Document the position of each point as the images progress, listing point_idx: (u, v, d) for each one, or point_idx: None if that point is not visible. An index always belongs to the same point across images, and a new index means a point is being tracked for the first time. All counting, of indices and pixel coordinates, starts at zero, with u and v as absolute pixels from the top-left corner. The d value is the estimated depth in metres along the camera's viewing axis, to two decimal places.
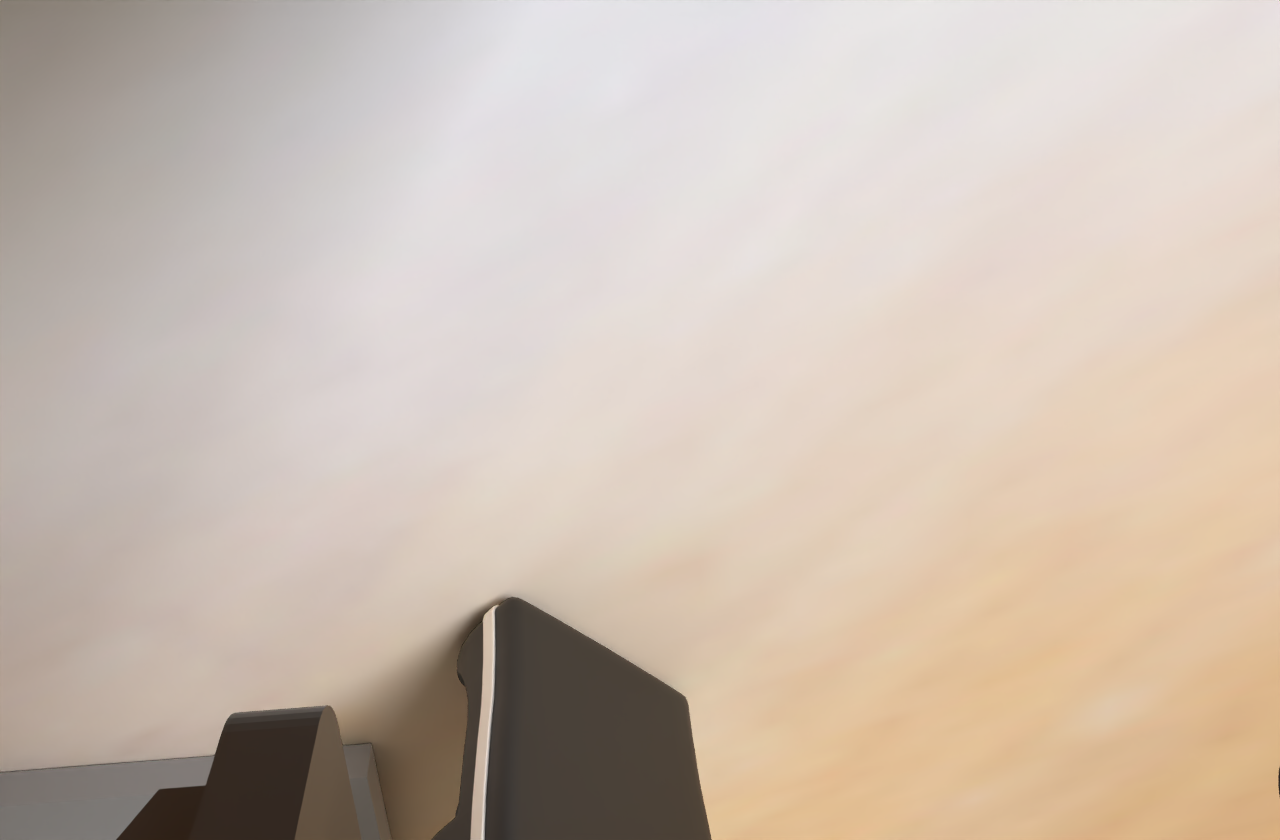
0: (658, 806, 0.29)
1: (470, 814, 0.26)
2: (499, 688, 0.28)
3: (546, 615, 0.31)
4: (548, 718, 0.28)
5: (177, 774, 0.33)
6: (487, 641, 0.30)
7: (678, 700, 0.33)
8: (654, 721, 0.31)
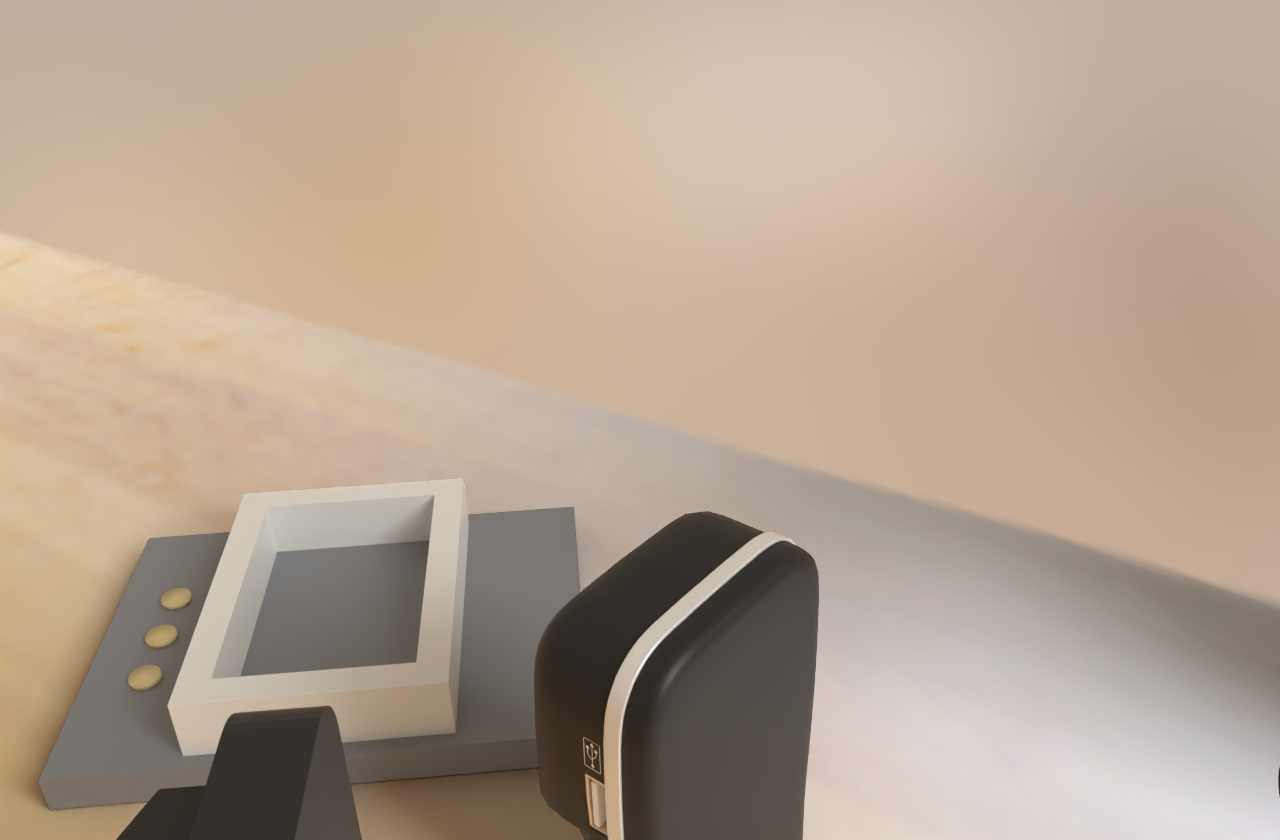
0: None
1: None
2: None
3: None
4: (789, 787, 0.30)
5: None
6: None
7: None
8: None
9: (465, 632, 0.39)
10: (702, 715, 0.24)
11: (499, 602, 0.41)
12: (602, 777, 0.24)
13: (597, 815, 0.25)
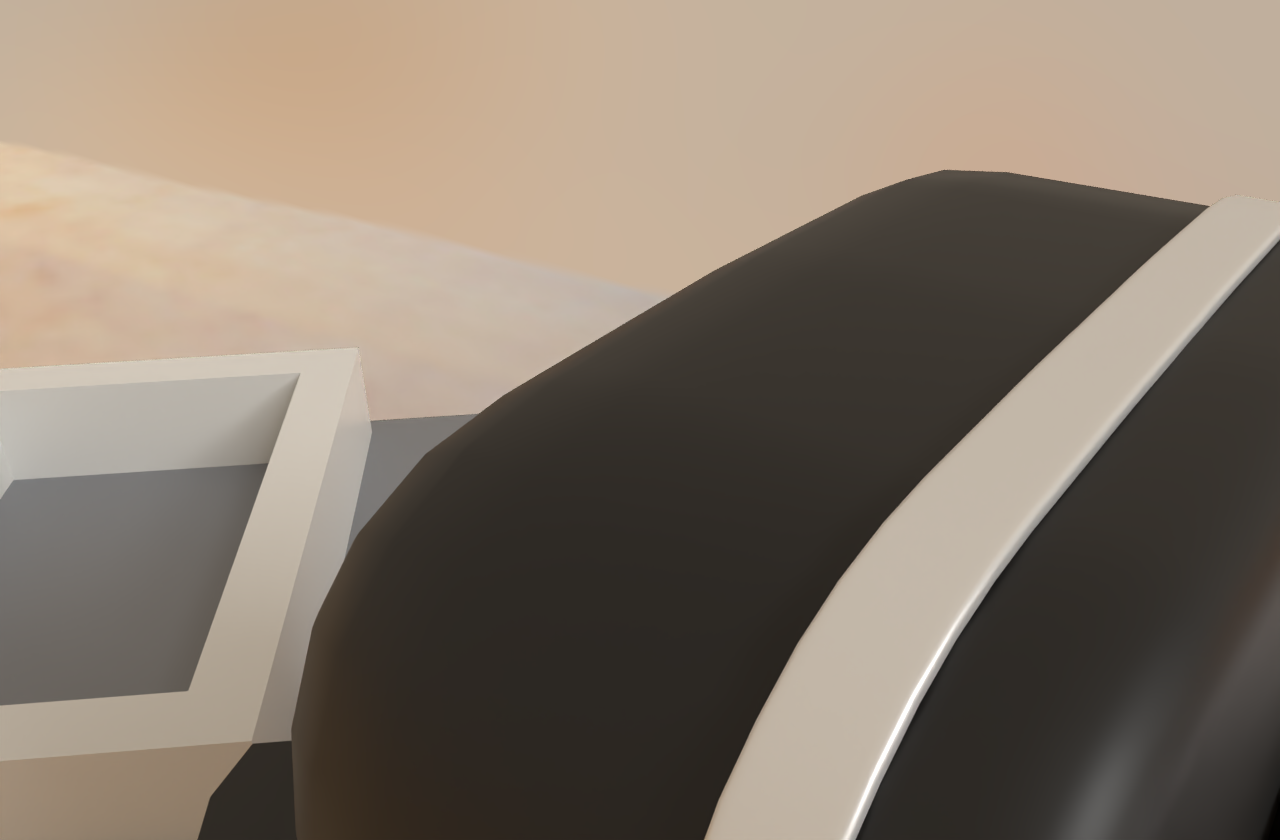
0: None
1: None
2: None
3: None
4: None
5: None
6: None
7: None
8: None
9: None
10: None
11: None
12: None
13: None
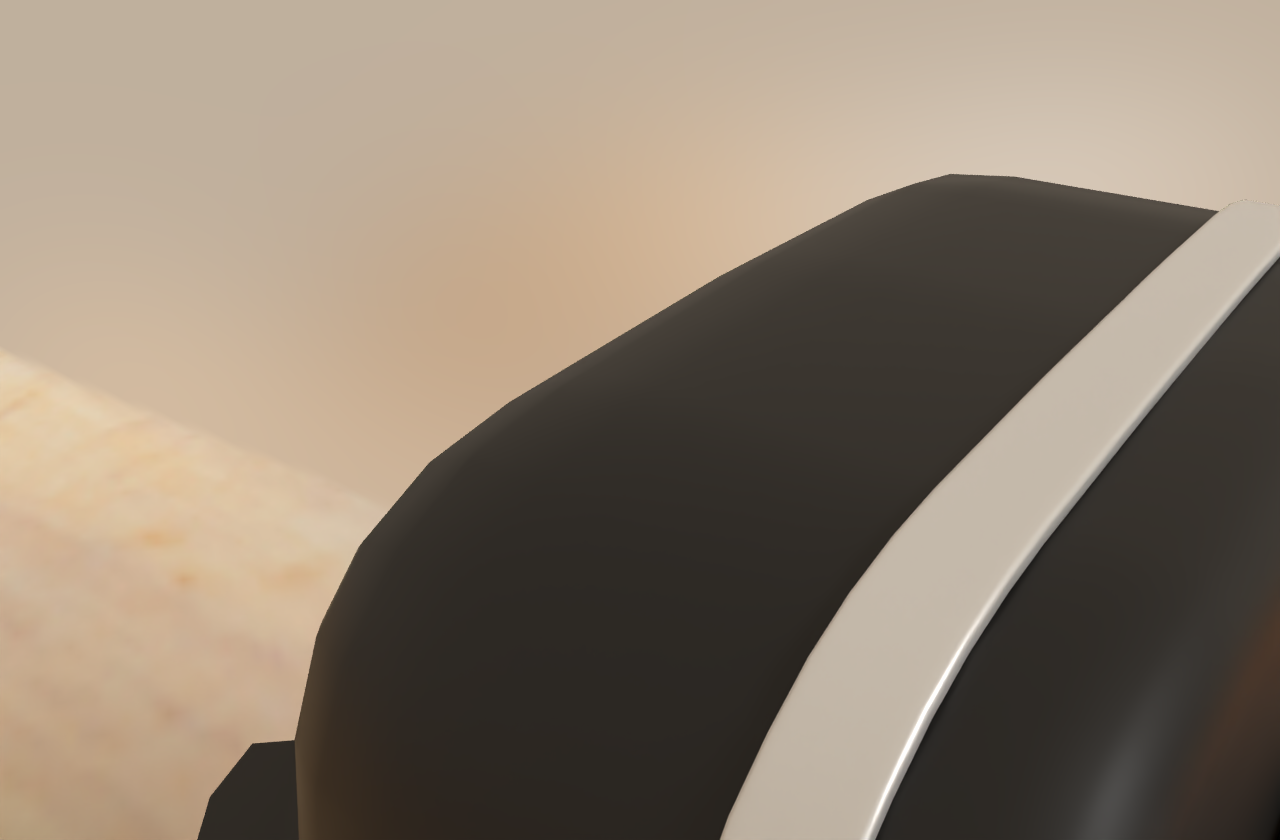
0: None
1: None
2: None
3: None
4: None
5: None
6: None
7: None
8: None
9: None
10: None
11: None
12: None
13: None
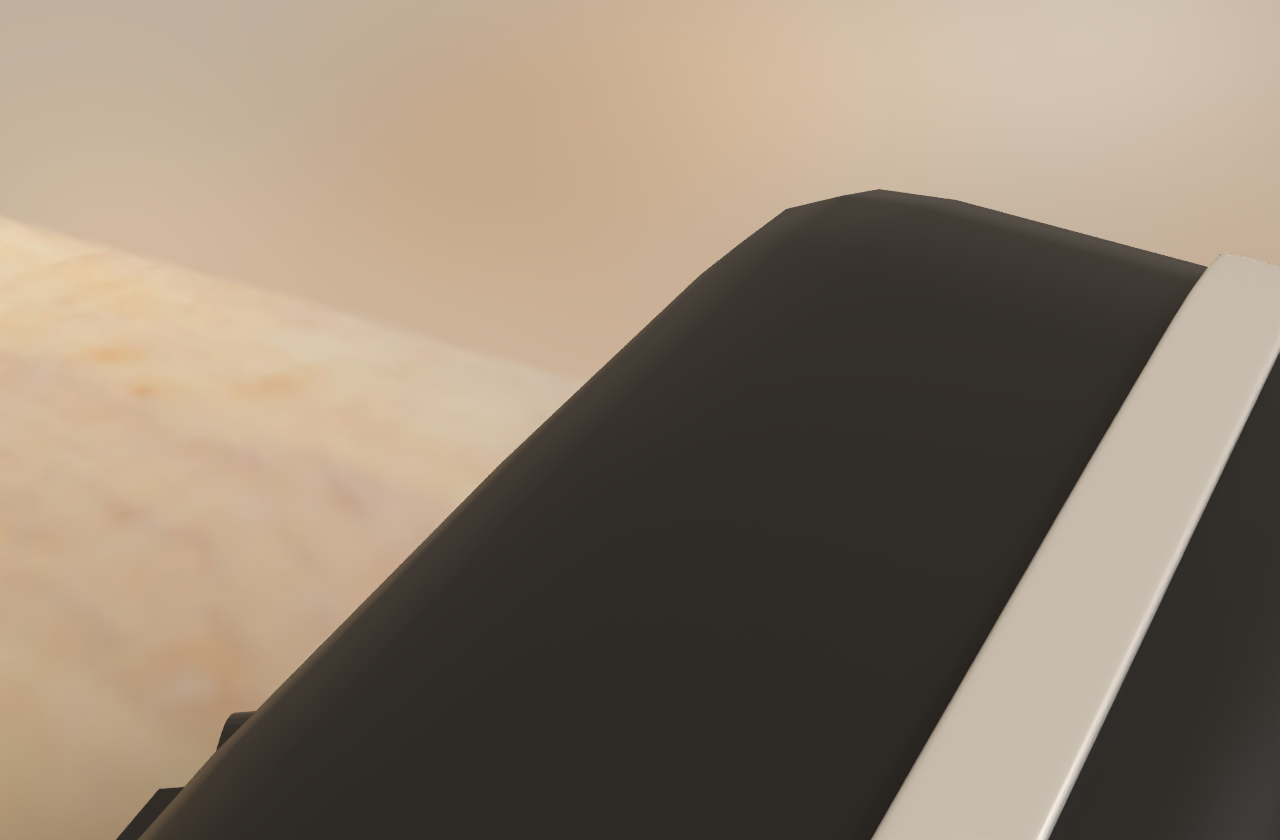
0: None
1: None
2: None
3: None
4: None
5: None
6: None
7: None
8: None
9: None
10: None
11: None
12: None
13: None
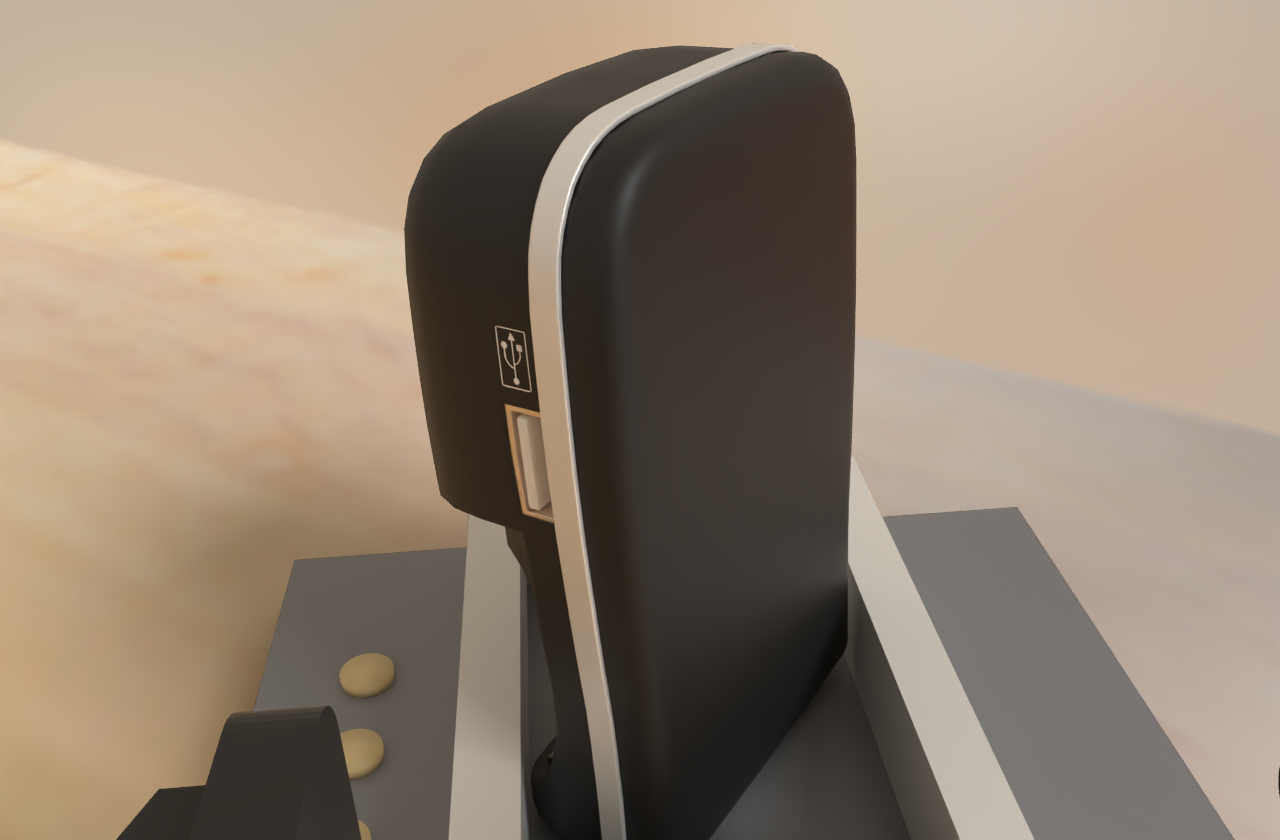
0: (722, 568, 0.16)
1: None
2: None
3: (827, 674, 0.21)
4: (829, 502, 0.19)
5: None
6: None
7: None
8: (720, 734, 0.18)
9: None
10: (698, 282, 0.14)
11: (978, 685, 0.22)
12: (535, 396, 0.14)
13: (533, 486, 0.15)
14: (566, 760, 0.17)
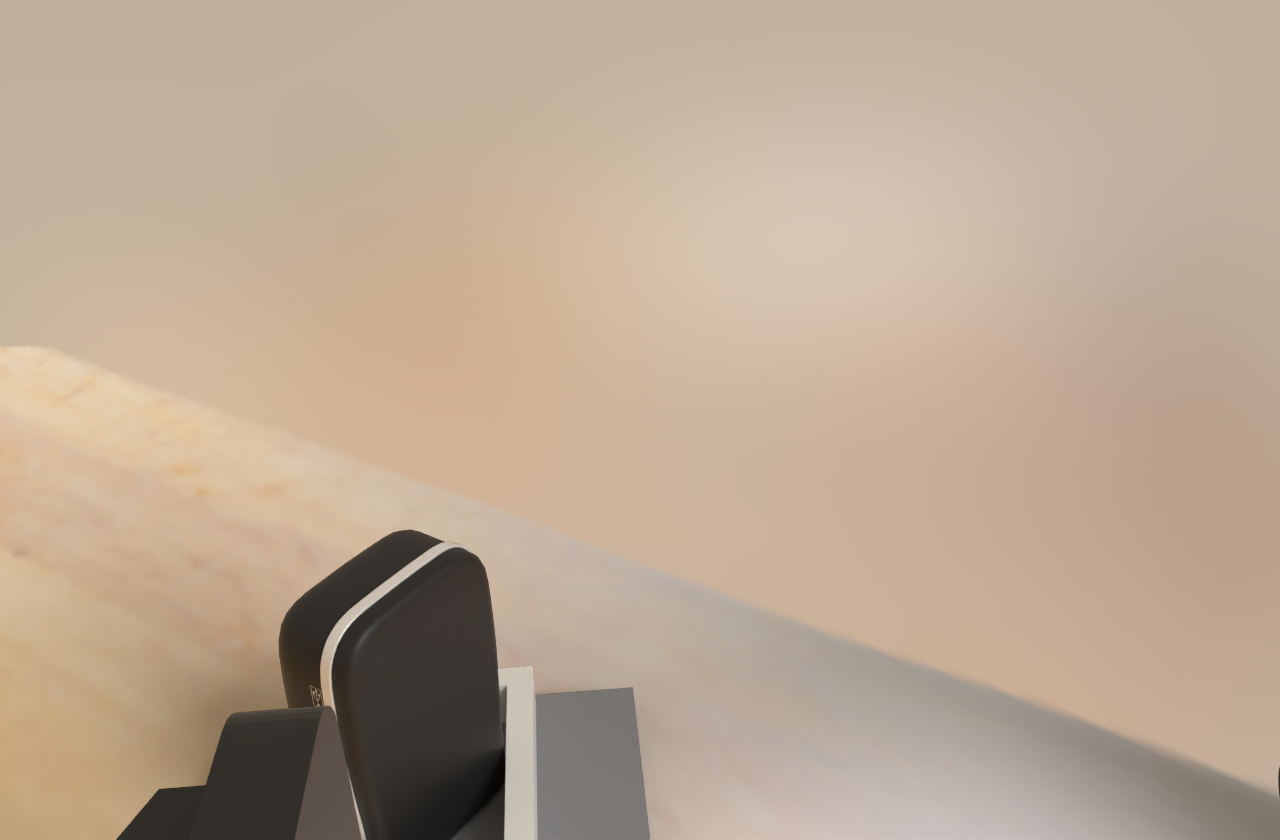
0: (413, 765, 0.39)
1: None
2: None
3: (492, 794, 0.44)
4: (484, 721, 0.42)
5: None
6: None
7: None
8: (418, 831, 0.40)
9: (540, 827, 0.43)
10: (392, 667, 0.37)
11: (569, 794, 0.44)
12: None
13: None
14: None
